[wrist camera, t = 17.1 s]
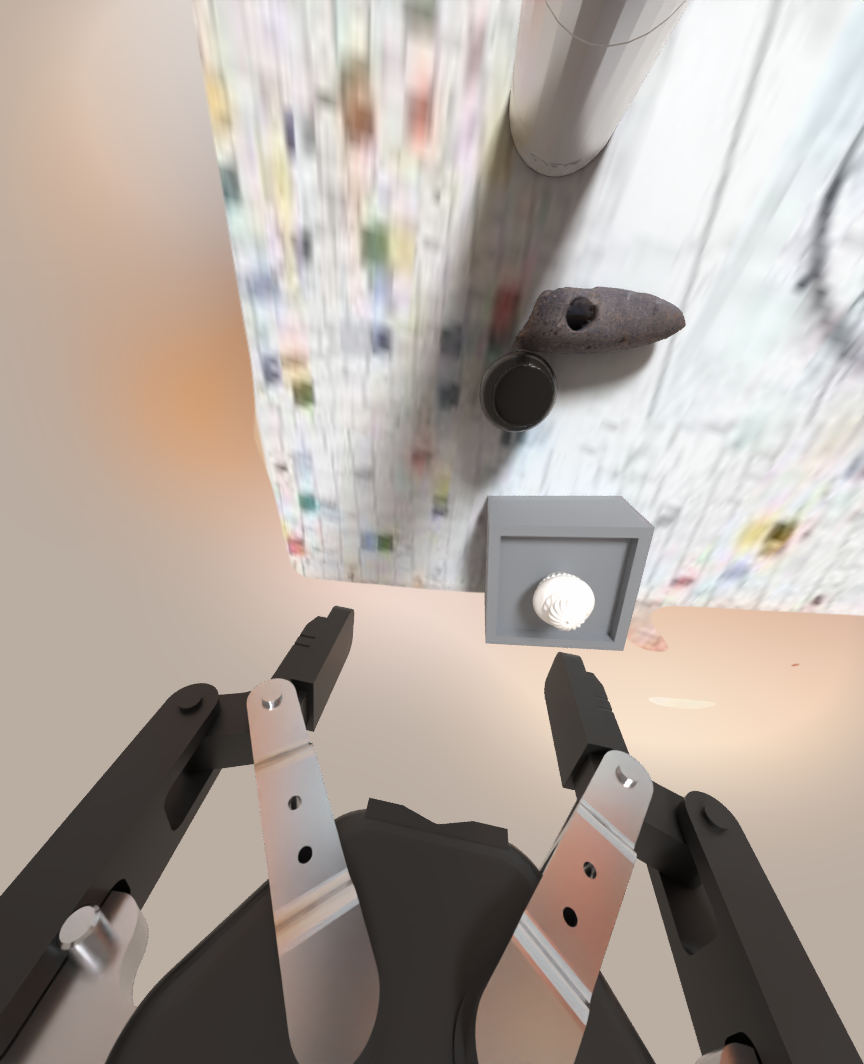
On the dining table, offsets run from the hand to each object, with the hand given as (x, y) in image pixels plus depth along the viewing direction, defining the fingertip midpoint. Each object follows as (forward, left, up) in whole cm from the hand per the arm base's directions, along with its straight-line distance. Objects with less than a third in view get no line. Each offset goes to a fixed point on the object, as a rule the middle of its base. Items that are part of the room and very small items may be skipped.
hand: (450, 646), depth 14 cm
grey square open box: (+11, +13, -32) cm, 37 cm away
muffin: (+11, +12, -25) cm, 30 cm away
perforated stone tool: (-15, +9, -32) cm, 37 cm away
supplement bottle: (-8, +3, -32) cm, 33 cm away
